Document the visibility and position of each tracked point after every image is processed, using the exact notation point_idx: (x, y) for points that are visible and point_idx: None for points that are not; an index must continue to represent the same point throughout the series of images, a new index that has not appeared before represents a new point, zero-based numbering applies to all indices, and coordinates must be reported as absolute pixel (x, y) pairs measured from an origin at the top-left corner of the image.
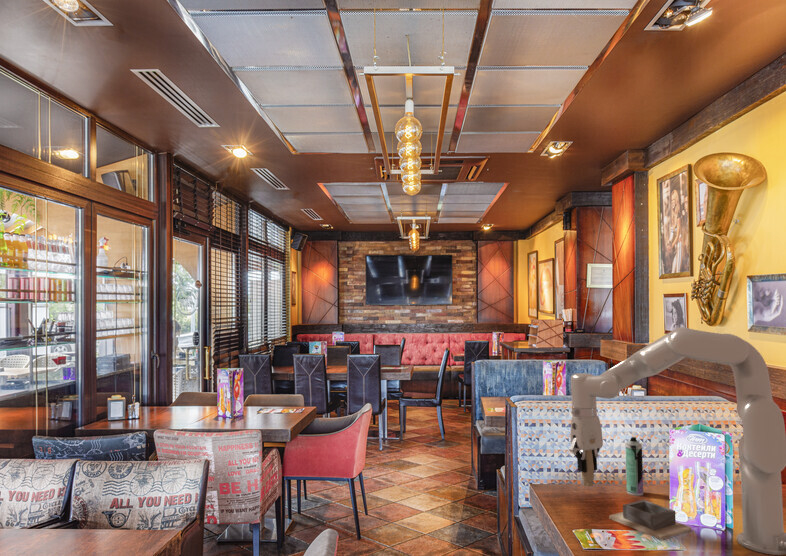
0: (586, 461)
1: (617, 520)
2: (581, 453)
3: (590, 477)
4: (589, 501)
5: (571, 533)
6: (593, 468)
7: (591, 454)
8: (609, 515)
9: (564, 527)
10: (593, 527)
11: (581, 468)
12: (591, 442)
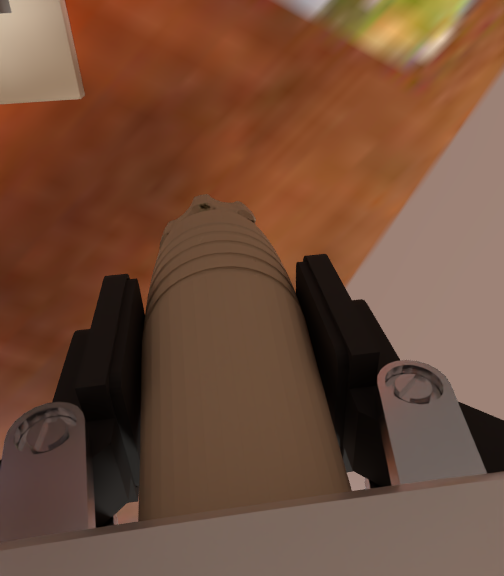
0: (304, 355)
1: (66, 23)
2: (471, 464)
3: (240, 222)
4: (25, 341)
5: (481, 12)
6: (186, 272)
7: (222, 426)
8: (80, 96)
9: (438, 106)
10: (290, 24)
11: (363, 307)
12: None
